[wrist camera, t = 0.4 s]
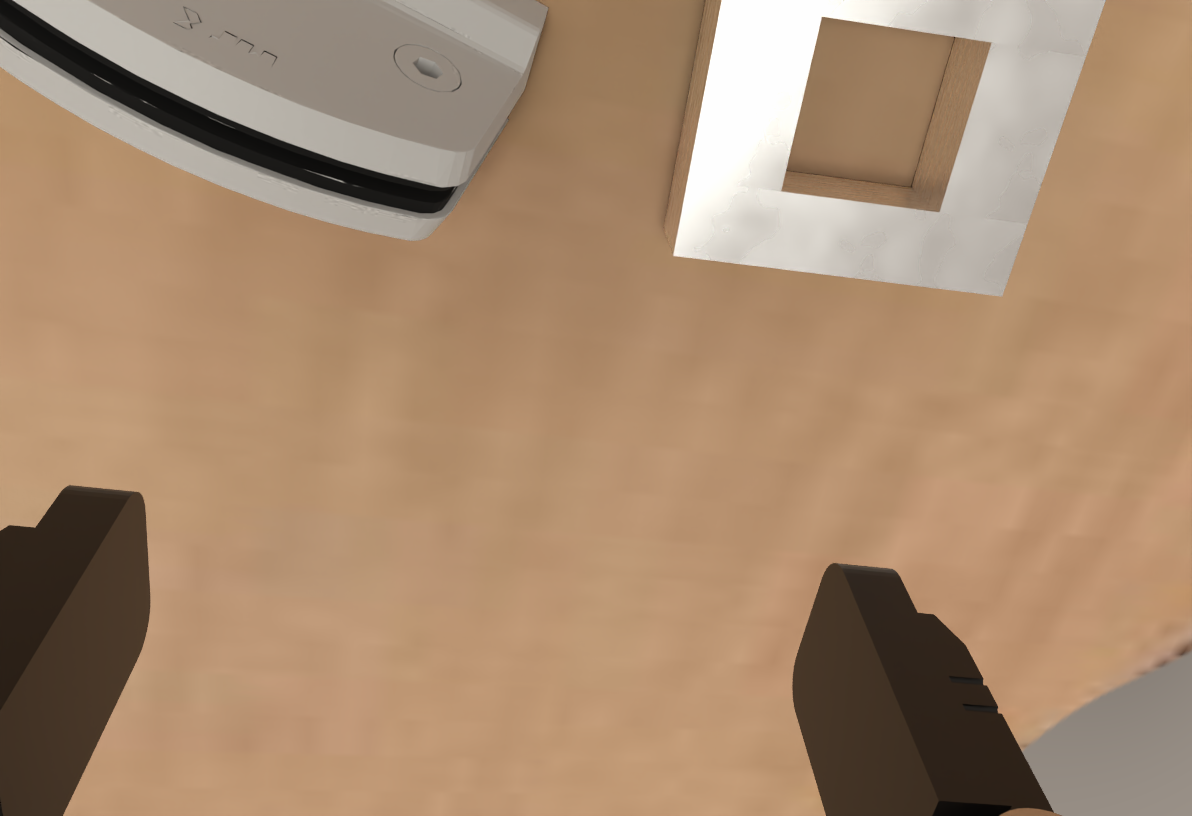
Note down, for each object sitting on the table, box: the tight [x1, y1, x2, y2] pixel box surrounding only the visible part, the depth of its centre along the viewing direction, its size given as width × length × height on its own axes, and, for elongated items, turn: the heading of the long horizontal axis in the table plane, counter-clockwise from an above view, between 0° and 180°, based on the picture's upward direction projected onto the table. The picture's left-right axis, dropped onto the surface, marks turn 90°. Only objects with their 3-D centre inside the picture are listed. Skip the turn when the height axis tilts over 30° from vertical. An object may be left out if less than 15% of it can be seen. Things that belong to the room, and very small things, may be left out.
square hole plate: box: [664, 0, 1106, 296], centre depth 35 cm, size 15×12×3 cm
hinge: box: [0, 0, 548, 241], centre depth 31 cm, size 17×5×10 cm, turn 62°
